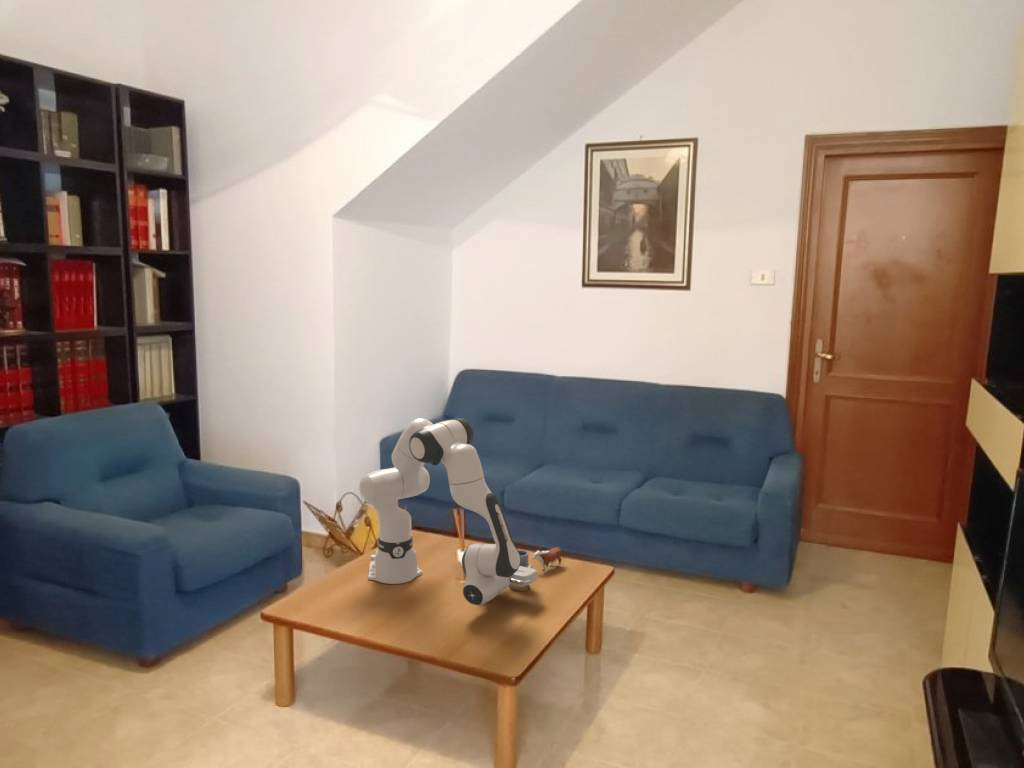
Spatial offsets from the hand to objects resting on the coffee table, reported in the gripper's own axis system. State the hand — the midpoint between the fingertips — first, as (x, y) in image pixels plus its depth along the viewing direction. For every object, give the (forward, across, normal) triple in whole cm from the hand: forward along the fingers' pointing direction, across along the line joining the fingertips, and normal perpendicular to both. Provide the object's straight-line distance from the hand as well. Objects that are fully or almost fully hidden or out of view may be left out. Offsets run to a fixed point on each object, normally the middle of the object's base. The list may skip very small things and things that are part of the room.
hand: (517, 563), depth 261 cm
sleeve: (+1, 0, +8) cm, 8 cm away
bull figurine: (+20, -2, +9) cm, 22 cm away
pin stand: (+1, 0, +8) cm, 9 cm away
